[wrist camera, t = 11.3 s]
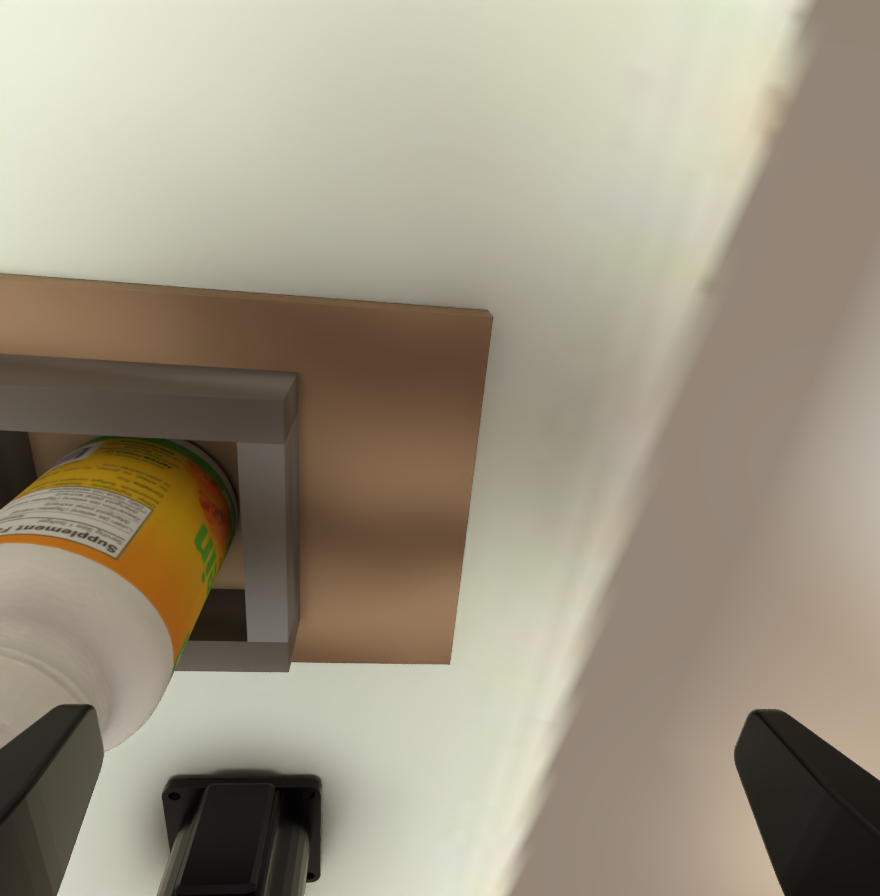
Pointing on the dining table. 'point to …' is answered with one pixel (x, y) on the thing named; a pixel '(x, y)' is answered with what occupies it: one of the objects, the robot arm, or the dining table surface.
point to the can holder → (273, 448)
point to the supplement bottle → (107, 578)
